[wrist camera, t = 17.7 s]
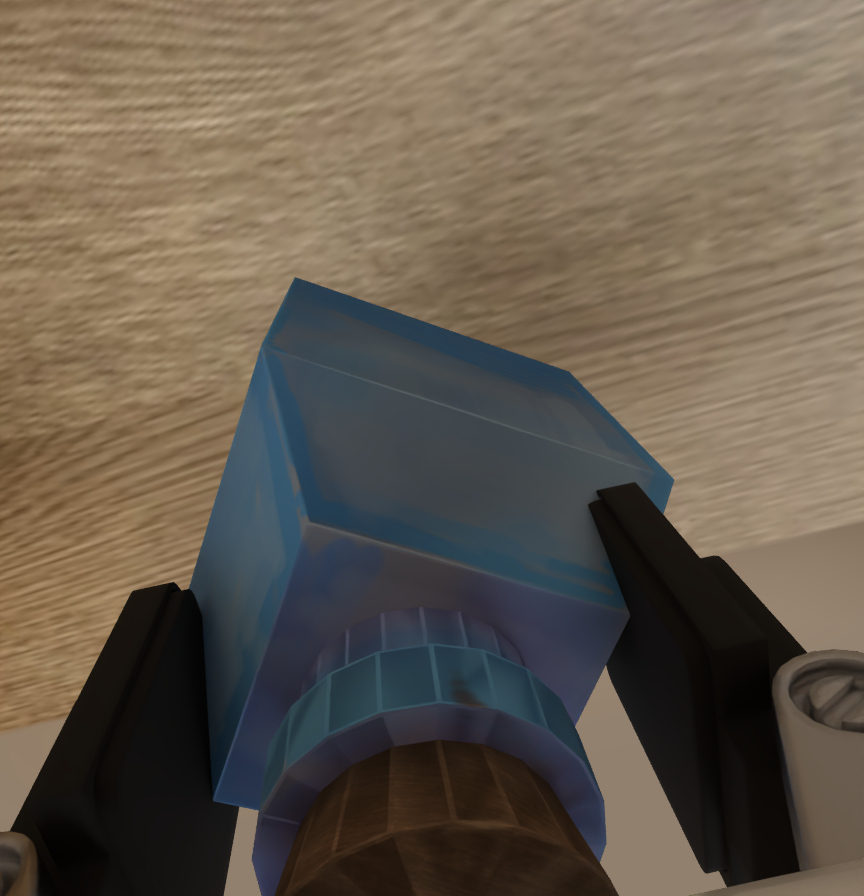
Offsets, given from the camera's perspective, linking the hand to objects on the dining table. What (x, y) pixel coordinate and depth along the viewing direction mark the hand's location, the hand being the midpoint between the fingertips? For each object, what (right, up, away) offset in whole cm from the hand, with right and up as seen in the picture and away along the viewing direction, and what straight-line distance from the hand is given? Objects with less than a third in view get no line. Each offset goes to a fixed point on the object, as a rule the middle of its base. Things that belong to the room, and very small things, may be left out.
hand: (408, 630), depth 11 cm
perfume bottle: (-1, +2, +7) cm, 7 cm away
